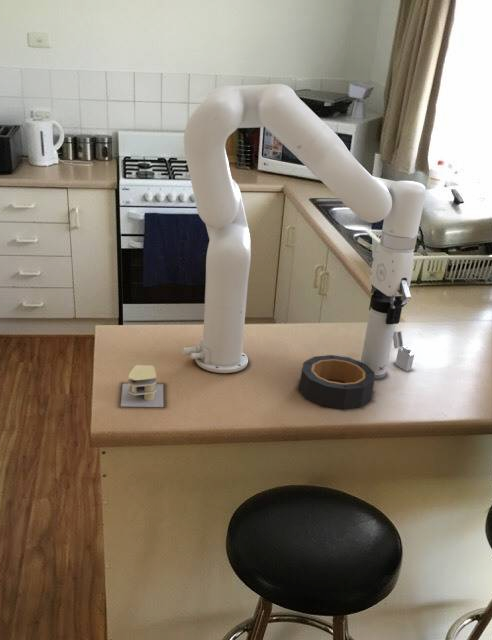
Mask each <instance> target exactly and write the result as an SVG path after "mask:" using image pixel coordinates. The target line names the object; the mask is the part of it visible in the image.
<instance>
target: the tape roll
mask: <svg viewBox="0 0 492 640" xmlns="http://www.w3.org/2000/svg"><path fill="white" fill-rule="evenodd" d="M374 375H375V373H374V372H373V371H372V370H371V369H370V368H369V367H368V366H367V365H366V364H364V363H362V362H361V361H359V360H357V359H354V358H352V357H348V356H342V355H341V356H340V355H333V354H327V355H317V356H313V357H311V358H309V359H307V360H305V361H303V363H302V368H301V373H300V379H299V380H300V381H299V388H298V390H299V391H300V392H301V394H302V395H303V396H304V397H305V399H306V400H308V401H310V402H313V403H315V404H317V405H320V406H322V407H325V408H332V409H339V410H348V409H356V408H361V407H363V406H364V405H366V404H368V403H369V402H371V400H372V395H373V390H374V384H375V379H374ZM332 380H334V381H332ZM337 381H340V382H337ZM341 381H342V382H341ZM343 382H344V383H343Z"/></svg>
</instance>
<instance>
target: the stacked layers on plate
mask: <svg viewBox="0 0 492 640" xmlns="http://www.w3.org/2000/svg"><path fill="white" fill-rule="evenodd" d="M121 389H122V391H121V399H120V407H125V408H127V407H128V408H129V407H130V408H131V407H133V408H134V407H135V408H136V407H137V408H164V384H162V383H160V384H159V383H157V371H156V369H155V365H151V364H150V365H148V364H147V365H142V364H136V365H134V366H133V368H132V369H131V370H130V372H129V374H128V383H122V388H121Z"/></svg>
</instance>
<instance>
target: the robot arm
mask: <svg viewBox="0 0 492 640" xmlns="http://www.w3.org/2000/svg"><path fill="white" fill-rule="evenodd" d="M250 128H252V129H253V128H265V129H266V130H267V131H268V133H270V134H271V135H272V136H273V137H274V138H275V139H277V141H279V143H281V144H282V145H283V146H284V147H285V148H286V149H287V150H288V151H290V152H291V153H292V154H293V155H294V156H295V157H296V158H297V159H298V160H299V161H300V162H301V163H302V164H303V165H304V166H305V167H306V168H307V169H308V171H310V172H311V174H313V175H314V177H316V178H317V179H318V180H319V181H320V182H322V183H323V184H324V186H326V187H327V188H328V189H329V190H330V191H331V193H333V195H334V196H335V197H337V198H338V200H340V201H341V202H342V203H343V204H344V205H345V206H346V207H347V208H348V209H349V210H350V211H351V212H352V213H354V215H356V216H357V217H358V218H359V219H360V220H362V221H364V222H366V223H371V224H372V223H378V222H381V221H383V223H382V227H381V228H382V229H381V234H380V240H379V242H378V244H377V247H376V248H375V249H376V250H375V253H374V256H373V259H372V263H371V268H370V272H369V277H368V282H369V283H370V286H371V289H370V293H371V296H370V302H369V308H368V310H369V311H370V308H371V304H372V298H373V297H374V295H375V294H379V293H384V294H385V295H387V296H390V305H391V307H388V312H387V317H386V324H387V325H389V324H396V325H398V324H399V323H400V319H401V316H402V310H403V309H404V308H405V306H406V305H407V304H408V302H409V301H410V300H411V299H412V295H411V292H410V287H411V282H412V276H413V269H414V257H415V252H414V251H415V248H416V244H417V239H418V235H419V230H420V224H421V220H422V215H423V210H424V206H425V205H424V204H425V200H426V195H427V189H426V187H425V185H424V184H422V183H420V182H417V181H412V180H397V181H396V180H391V179H386V178H381V177H377V176H373V175H372V174H371V173H370V172H369V171H368V170H367V169H365V167H364V166H363V165H362V164H361V163H360V162H359V161H358V160H357V159H356V158H355V156H353V154H352V153H351V151H350V150H349V149H348V147H347V146H346V144H345V143H344V141H343V140H342V139H341V138H340V137H339V136H338V134H337V133H336V132H335V131H334V130H333V129H332V128H331V127H329V126H328V124H326V123H325V122H324V121H323V120H322V119H321V118H320V117H319V116H318V115H317V114H316V113H315V112H314V111H313V110H312V109H311V108H310V107H309V105H307V104H306V102H304V101H303V100H301V99H300V97H299V96H298V95H297V93H296V92H295V91H294V89H293V88H292V87H290V86H288V85H286V84H283V83H270V84H269V83H268V84H267V83H265V84H243V85H242V84H241V85H239V84H238V85H235V84H234V85H221V86H217V87H215V88H214V89H212V90H211V91H210V92H209V93H208V95H207V96H206V97H205V98H204V100H203V101H201V103H199V105H198V106H197V107H196V108H195V109H194V111H193V112H192V113H191V114H190V116H189V118H188V120H187V122H186V125H185V129H184V134H183V151H184V156H185V160H186V164H187V169H188V173H189V179H190V182H191V188H192V190H193V191H192V192H193V196H194V200H195V206H196V211H197V214H198V216H199V218H200V219H201V221H202V222H203V224H205V228H206V232H207V235H208V236H207V237H208V240H209V242H208V245H207V251H206V256H205V289H204V292H205V293H204V311H203V312H204V313H203V330H202V333H203V334H202V340H200V341H198V345H195V346H194V347H193V346H192V347H191V346H190V347H188V346H187V347H182V351H181V353H182V356H183V357H189V356H190V359H191V360H194V361H195V363H196V365H197V366H198V367H200V368H201V369H203V370H205V371H208V372H212V373H215V374H231V373H238V372H240V371H242V370H244V369H246V367H247V366H248V363H249V357H248V356H247V355H246V354H245V353H244V352H243V346H244V333H245V323H246V310H247V299H248V298H247V297H248V286H249V276H250V268H251V260H252V259H251V258H252V257H251V256H252V241H251V238H252V237H251V234H250V228H249V224H248V220H247V216H246V210H245V206H244V202H243V197H242V192H241V189H240V187H239V185H238V183H237V182H236V181H235V179H233V178H232V173H231V169H230V161H229V158H228V154H227V151H226V143H227V140H228V138H229V137H230V136H231V135H232V134H233V133H234V132H236V131H237V130H238V129H250ZM395 297H399V300H397V301H396V302H395Z"/></svg>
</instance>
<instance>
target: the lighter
mask: <svg viewBox="0 0 492 640" xmlns="http://www.w3.org/2000/svg"><path fill="white" fill-rule="evenodd" d="M392 343H393V348H394V349H397V352H396V353H397V354H396V358H395V364H394V365H395V366H397V367H399V368H400V369H402V370H403V371H404V372H409V371H411V370H412V368H413V361H414V359H415V353H413V352H412V348H410V347H409V346H407V345H404V341H403V333H402V330H394V335H393V340H392Z"/></svg>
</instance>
